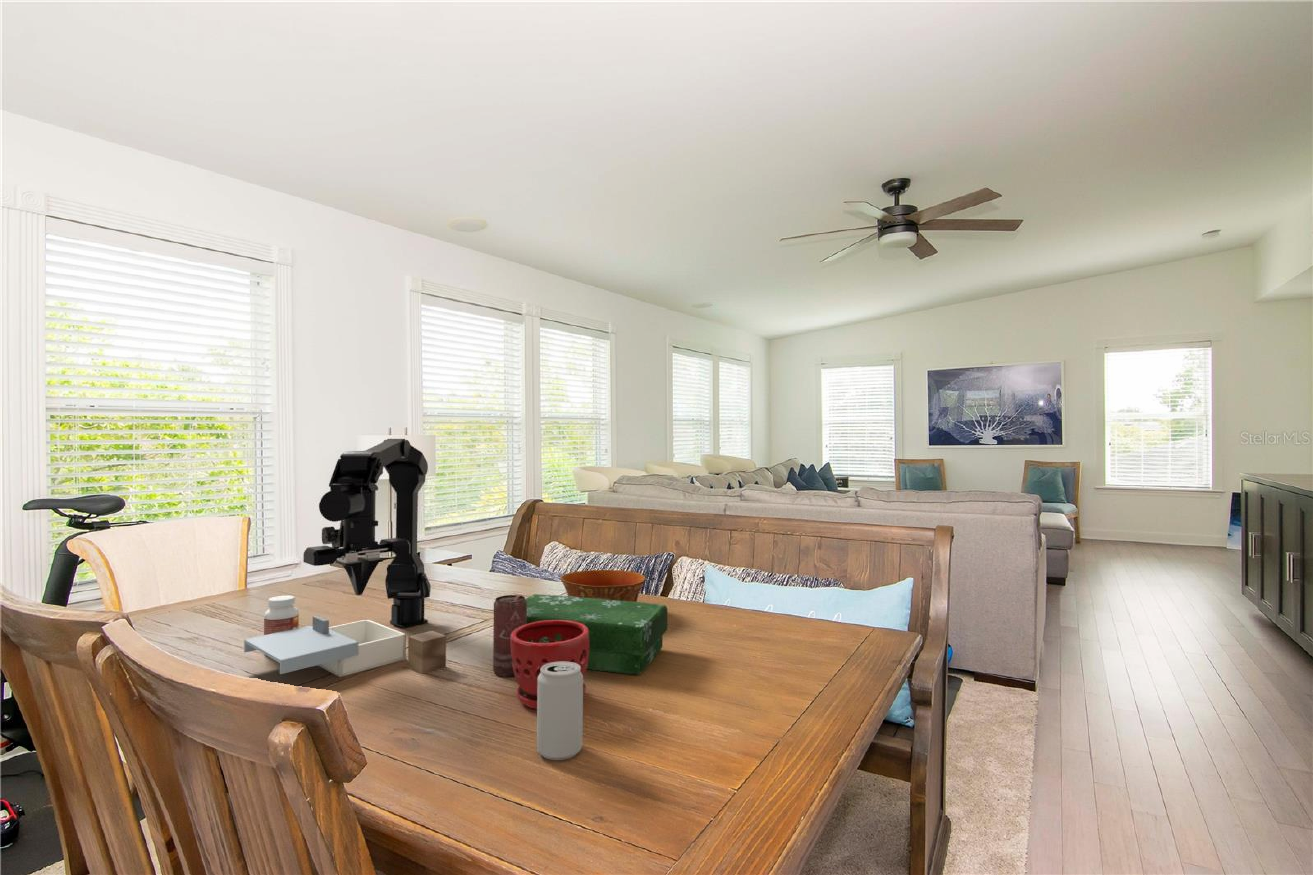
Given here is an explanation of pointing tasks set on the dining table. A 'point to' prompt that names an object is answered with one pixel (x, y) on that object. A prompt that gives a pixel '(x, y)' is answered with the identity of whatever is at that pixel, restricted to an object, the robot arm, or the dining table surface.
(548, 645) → the plant pot
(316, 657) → the lid
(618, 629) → the box
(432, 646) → the walnut block
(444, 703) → the dining table surface
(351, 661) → the box
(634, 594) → the bowl
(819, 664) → the dining table surface
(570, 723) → the beverage can
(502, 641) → the can
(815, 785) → the dining table surface
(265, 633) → the pill bottle
